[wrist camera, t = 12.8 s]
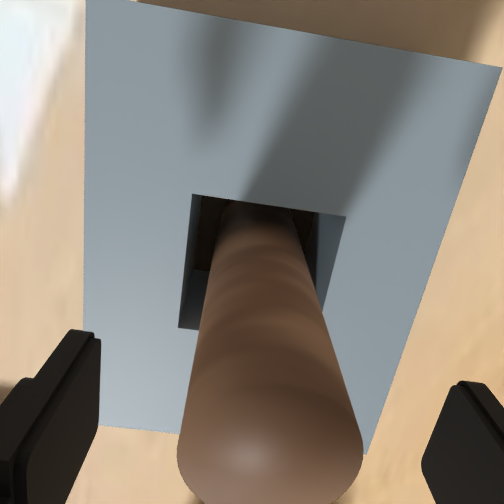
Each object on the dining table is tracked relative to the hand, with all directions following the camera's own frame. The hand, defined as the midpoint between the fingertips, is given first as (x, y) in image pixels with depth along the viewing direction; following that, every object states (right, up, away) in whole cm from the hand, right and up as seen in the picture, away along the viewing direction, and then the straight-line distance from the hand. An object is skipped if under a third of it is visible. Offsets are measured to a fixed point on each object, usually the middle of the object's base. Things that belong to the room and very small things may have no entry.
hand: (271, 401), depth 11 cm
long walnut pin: (0, +5, +12) cm, 13 cm away
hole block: (0, +5, +12) cm, 13 cm away
